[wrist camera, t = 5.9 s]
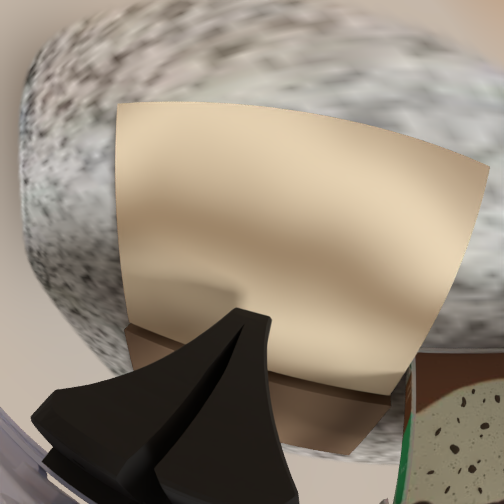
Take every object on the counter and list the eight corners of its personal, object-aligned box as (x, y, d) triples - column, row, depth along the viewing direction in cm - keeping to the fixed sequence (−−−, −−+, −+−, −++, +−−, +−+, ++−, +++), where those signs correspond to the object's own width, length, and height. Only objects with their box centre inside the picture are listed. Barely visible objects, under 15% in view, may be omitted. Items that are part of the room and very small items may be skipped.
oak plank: (387, 374, 13) (389, 395, 12) (143, 307, 16) (129, 322, 15) (472, 161, 8) (489, 166, 7) (139, 103, 11) (117, 103, 10)
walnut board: (389, 382, 13) (391, 405, 12) (351, 435, 16) (348, 455, 15) (140, 313, 16) (124, 329, 15) (150, 376, 19) (139, 391, 18)
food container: (356, 414, 15) (332, 562, 6) (383, 344, 13) (375, 551, 4) (506, 408, 12) (525, 522, 3) (548, 345, 9) (596, 471, 1)
